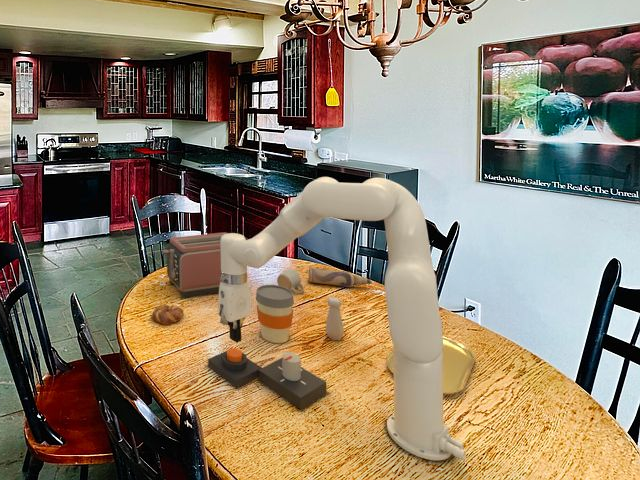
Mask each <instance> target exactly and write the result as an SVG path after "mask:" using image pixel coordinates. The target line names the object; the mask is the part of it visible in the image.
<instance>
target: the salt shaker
mask: <svg viewBox="0 0 640 480" xmlns="http://www.w3.org/2000/svg"><path fill="white" fill-rule="evenodd" d="M326 301H327V306H328V307H329V308H328V312H327V317H326V321H325V322H326V323H325V326H324V327H325V332H326V334H327V337H328V338H329V339H331V340H333V341H340V340H341V339H343V336H344V334H345V328H344V324H343V319H342V314H341V309H340V308H341V306H342V301H341V299H340V298H339V297H335V296H330V297H328V298H327V300H326Z"/></svg>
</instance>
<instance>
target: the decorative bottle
mask: <svg viewBox="0 0 640 480" xmlns="http://www.w3.org/2000/svg"><path fill="white" fill-rule="evenodd" d="M308 282H309V283H314V284H322V285H329V286H330V285H331V286H339V287H344V288H349V289H350V288H352V287H355V286H359V285H364V286H367V285H371V284H372V280H371V279H369V278H366V277H361V276H358V275H353V273H352V272H350V271H346V270H337V269H336V270H335V269H329V268H318V267H311V266H309V267H308Z"/></svg>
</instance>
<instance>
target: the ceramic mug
mask: <svg viewBox="0 0 640 480" xmlns="http://www.w3.org/2000/svg"><path fill="white" fill-rule="evenodd" d="M276 282H277V285H278V286H282V287H285V288H288V289H289V290H291V291H292V293H295V294H298V295H302V294H303V293H304V291H305V287H304V286H303V284H302V278H301V276H300V274H299V272H297V271H296V270H295V269H292V268H288V269H287V270H285V271H283V272H282V273H280V274H279V275H278V276H277V278H276ZM298 287H299V288H300V290H298V289H296V288H298Z"/></svg>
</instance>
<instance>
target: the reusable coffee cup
mask: <svg viewBox="0 0 640 480" xmlns="http://www.w3.org/2000/svg"><path fill="white" fill-rule="evenodd" d="M255 301H256V313H257V321H258V322H259V326H260V333H261V334H260V335H261V337H262V338H263V339H264V340H265V341H267V342H270V343H272V344H273V343H274V344H283V343H284V344H285V343H286V342H287V341H288V340H289V339H290V331H291V330H290V329H291V326H292V325H293V318H294V317H293V316H294V309H293V306H294V304H295V299H294V292H293V291H292V290H289V289H288V288H285V287H282V286H279V285H278V284H263V285H260V286H258V287H257V288H256V293H255Z"/></svg>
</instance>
